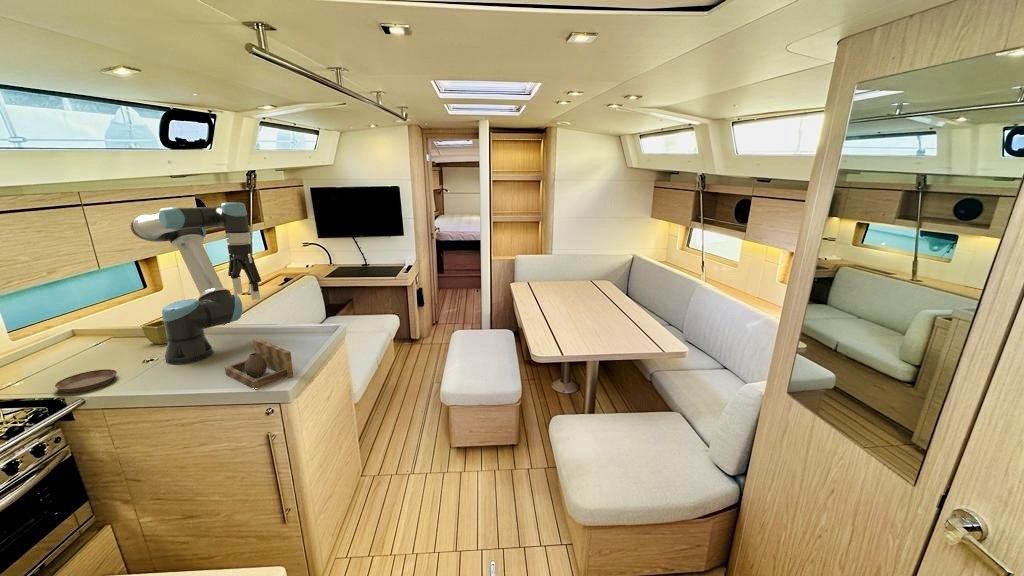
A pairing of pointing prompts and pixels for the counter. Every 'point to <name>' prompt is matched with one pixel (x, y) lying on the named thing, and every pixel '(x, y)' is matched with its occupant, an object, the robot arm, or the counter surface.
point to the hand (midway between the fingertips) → (247, 296)
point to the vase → (255, 366)
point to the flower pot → (155, 332)
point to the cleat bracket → (274, 359)
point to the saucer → (86, 380)
